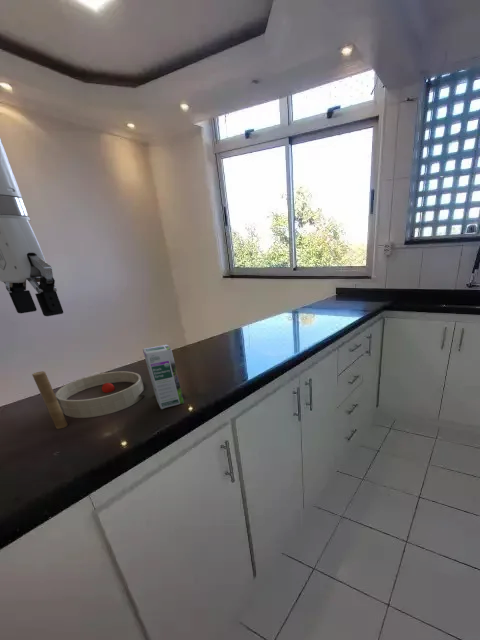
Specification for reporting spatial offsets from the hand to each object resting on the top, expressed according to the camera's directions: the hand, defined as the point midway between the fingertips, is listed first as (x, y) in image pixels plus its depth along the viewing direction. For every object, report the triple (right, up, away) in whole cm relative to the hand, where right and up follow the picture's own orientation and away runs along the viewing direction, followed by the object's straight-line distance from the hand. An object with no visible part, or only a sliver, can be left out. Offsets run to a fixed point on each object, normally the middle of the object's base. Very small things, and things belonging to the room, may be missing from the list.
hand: (40, 313), depth 60 cm
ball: (-2, -14, +24) cm, 28 cm away
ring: (-1, -17, +22) cm, 28 cm away
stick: (-4, -23, +10) cm, 25 cm away
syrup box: (+17, -18, +20) cm, 31 cm away
